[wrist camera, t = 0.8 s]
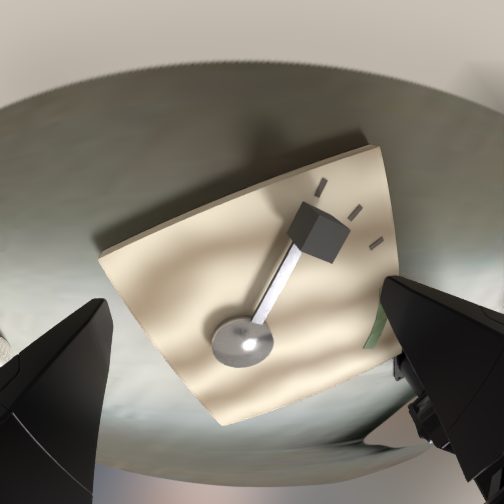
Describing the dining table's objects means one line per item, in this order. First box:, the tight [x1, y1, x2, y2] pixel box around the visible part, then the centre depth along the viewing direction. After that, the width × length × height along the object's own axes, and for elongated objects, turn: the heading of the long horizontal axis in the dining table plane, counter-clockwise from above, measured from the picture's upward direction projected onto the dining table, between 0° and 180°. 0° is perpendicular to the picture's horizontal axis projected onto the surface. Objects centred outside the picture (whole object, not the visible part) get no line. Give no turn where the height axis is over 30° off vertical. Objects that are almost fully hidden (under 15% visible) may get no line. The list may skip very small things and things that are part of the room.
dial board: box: [98, 145, 402, 426], centre depth 25 cm, size 23×22×2 cm
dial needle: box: [211, 202, 351, 368], centre depth 21 cm, size 15×5×4 cm, turn 155°
